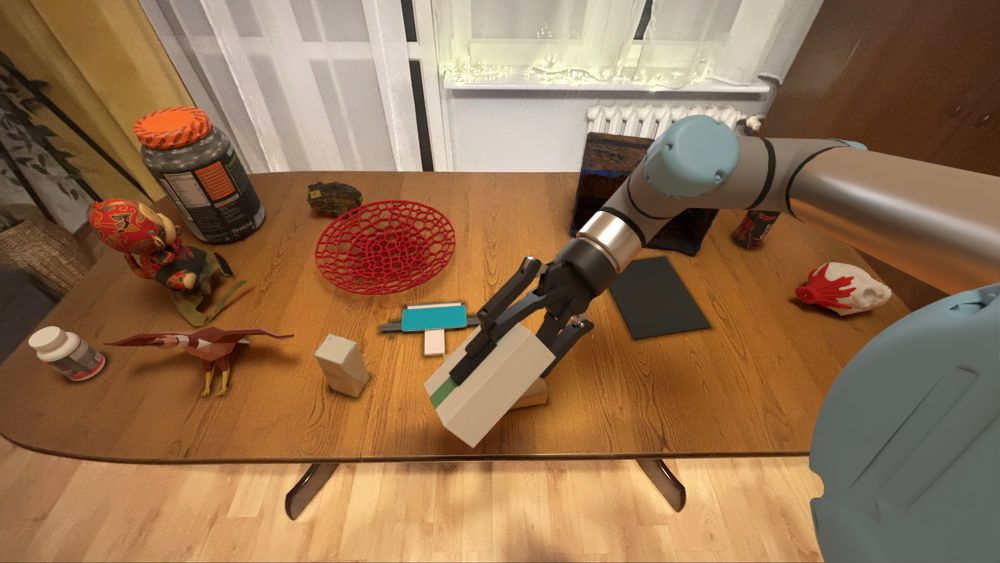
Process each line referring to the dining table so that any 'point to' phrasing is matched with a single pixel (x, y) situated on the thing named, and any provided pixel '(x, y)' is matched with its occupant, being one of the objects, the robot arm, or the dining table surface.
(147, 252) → the red patterned figure
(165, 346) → the decorative bird
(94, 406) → the dining table surface
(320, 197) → the rock
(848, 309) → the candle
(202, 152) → the supplement tub
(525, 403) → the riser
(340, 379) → the box
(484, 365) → the packet
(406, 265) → the bowl
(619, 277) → the mat
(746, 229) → the deodorant
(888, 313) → the dining table surface
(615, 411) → the dining table surface
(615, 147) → the decorative box
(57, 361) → the pill bottle
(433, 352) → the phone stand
